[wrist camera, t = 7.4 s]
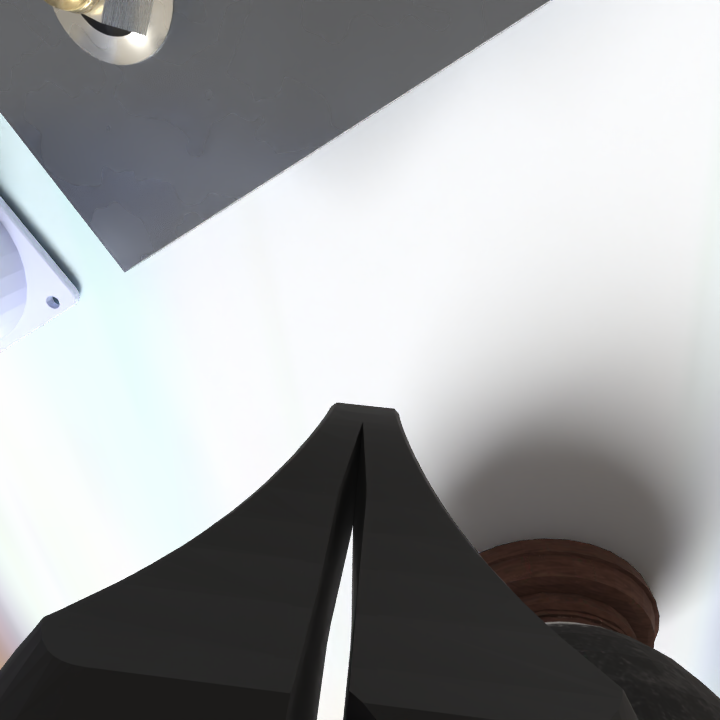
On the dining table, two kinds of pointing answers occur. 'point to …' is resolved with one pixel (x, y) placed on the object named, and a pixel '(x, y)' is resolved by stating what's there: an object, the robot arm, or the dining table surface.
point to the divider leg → (111, 12)
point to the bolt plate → (213, 96)
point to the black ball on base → (604, 621)
